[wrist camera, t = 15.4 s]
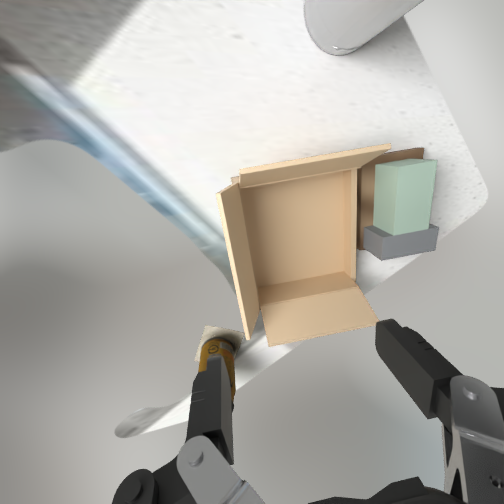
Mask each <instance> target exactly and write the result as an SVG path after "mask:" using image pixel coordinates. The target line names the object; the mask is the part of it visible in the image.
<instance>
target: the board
mask: <svg viewBox="0 0 504 504" xmlns="http://www.w3.org/2000/svg"><path fill="white" fill-rule="evenodd" d="M423 152H424V148H412V149H407V150H401V151H395V152H389V153H384V154H381V155H379V156H378V157H376V158H374V159H373V160H371V161H369V162H368V163H366V164H365V165H363V166H361V168H357V222H356V248H357V249H359V250H365V249H364V248H363V238H364V227H367V226H372V225H373V215H374V190H375V165H376V164H381V163H387V162H393V161H398V160H404V159H423Z"/></svg>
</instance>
